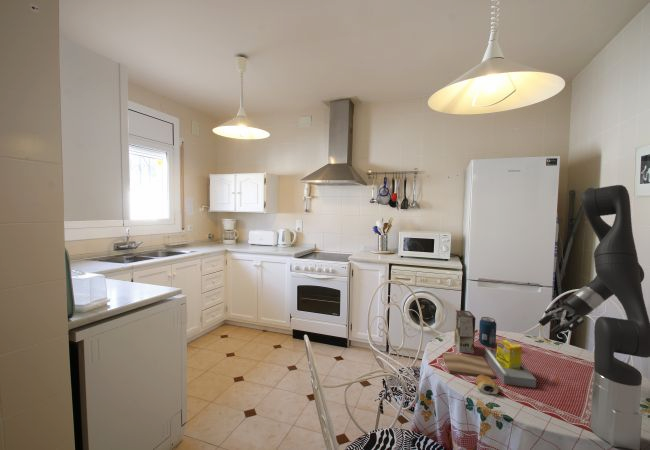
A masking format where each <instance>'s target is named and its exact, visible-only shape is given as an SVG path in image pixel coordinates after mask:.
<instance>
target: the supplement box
mask: <svg viewBox="0 0 650 450" xmlns="http://www.w3.org/2000/svg"><path fill="white" fill-rule="evenodd" d="M522 349H523V348H522V346H521V345H520V344H516V343H515V342H513V341H511V340H509V339H504V340H499V341H497V340H496V351H497V354H496V360H497V361H498V362H499V363H500V365H501V366H502V367H503V368H509V369H518V370H520V368H521V363H522V351H523V350H522Z"/></svg>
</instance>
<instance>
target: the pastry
mask: <svg viewBox="0 0 650 450" xmlns="http://www.w3.org/2000/svg"><path fill="white" fill-rule="evenodd" d="M475 383H476V385H477V386H476V387H477V390H478V391H479V392H480V393H483V394H488V395H489V394H490V395H497V394H499V390H500V389H499V386H498V385H497V382H495V380H493V378H490V377H488V376H486V375H482V374H481V375H479V376H476V380H475Z"/></svg>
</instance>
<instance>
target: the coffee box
mask: <svg viewBox="0 0 650 450" xmlns="http://www.w3.org/2000/svg"><path fill="white" fill-rule="evenodd" d="M454 317H455V318H454V345H455V347H456V349H457V350H458V352H459V353H466V354H474V353H475V335H476V334H475V333H476V317H475V315H474V314H473V313H472V312H471V311H470V310H458V309H456V310H455V316H454Z"/></svg>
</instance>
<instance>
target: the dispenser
mask: <svg viewBox="0 0 650 450" xmlns="http://www.w3.org/2000/svg"><path fill="white" fill-rule="evenodd" d="M496 354H497V350H491V349H489V347H487V346H484V358H485V359H486V362H488V363H489V364H490V367H491V368H492V369H493V372H494V373H496V376H498V377H499V379H500V380H501V382H502V383H503V385H509V386H510V385H512V386H518V387H527V388H534V389H535V388H536V387H537V379H536V377H535V376H534V375H533V374H532V373H531V372H530V371H529V370H528V369H527V368H526V367H525V365H524V364H523V363H522V362H521V368H520V370H518V369H509V368H503V367H502V366H501V365H500V363H499V362H498V361H497V360H496ZM536 389H537V388H536Z"/></svg>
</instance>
